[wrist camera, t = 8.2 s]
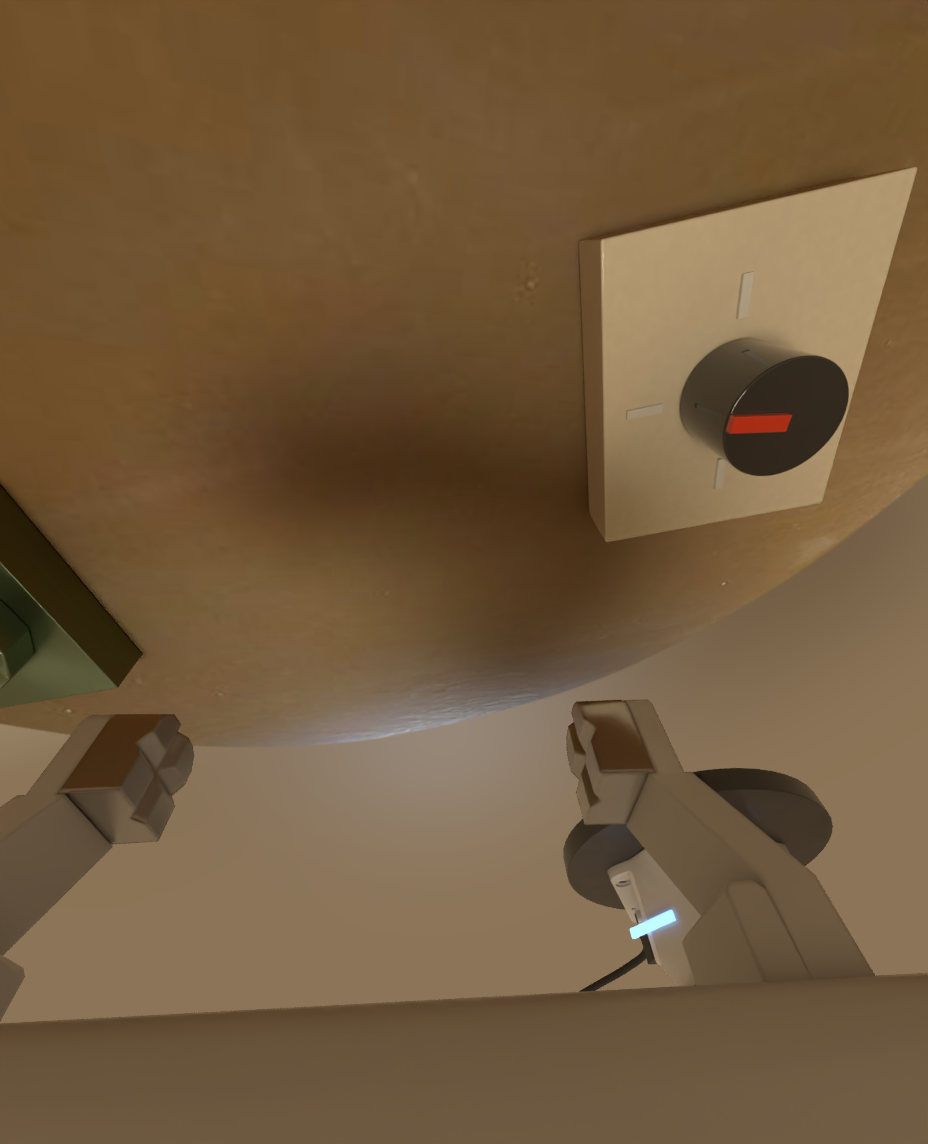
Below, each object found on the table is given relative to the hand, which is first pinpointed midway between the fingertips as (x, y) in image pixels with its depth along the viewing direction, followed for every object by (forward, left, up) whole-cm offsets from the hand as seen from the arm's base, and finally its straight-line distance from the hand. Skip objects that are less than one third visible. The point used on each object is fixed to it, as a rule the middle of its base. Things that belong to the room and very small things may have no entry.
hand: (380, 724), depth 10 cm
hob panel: (+1, -13, -15) cm, 20 cm away
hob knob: (+1, -13, -12) cm, 18 cm away
